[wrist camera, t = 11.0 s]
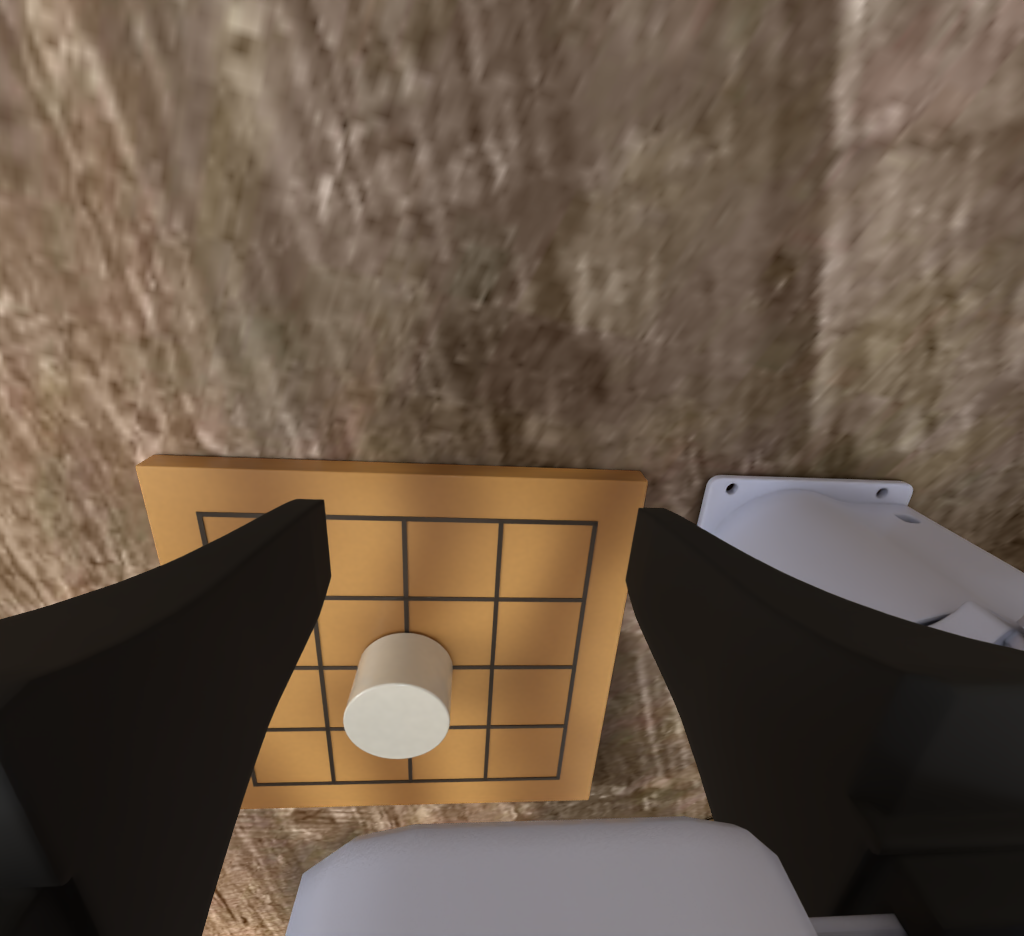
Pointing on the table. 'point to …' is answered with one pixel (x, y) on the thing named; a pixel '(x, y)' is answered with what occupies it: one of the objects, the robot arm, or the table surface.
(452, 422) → the table surface
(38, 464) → the table surface
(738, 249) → the table surface
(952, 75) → the table surface
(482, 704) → the game board
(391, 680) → the white stone
